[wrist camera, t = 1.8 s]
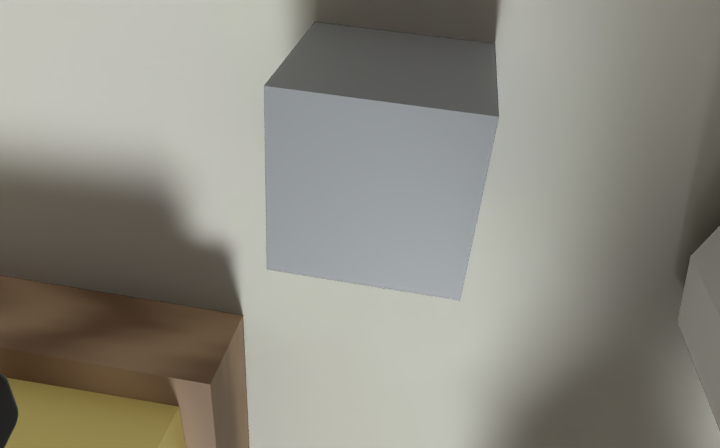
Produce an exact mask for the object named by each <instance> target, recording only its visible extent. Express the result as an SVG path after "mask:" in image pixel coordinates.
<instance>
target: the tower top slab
mask: <svg viewBox="0 0 720 448" xmlns="http://www.w3.org/2000/svg"><path fill="white" fill-rule="evenodd" d="M7 379H8V381H9V384H10V387H11V390H12V393H13V395H14V398H15V401H16V404H17V407H18V420H17V423H16V426H15V428H14V430H13V432H12V434H11V436H10V438H9V440H8V442H7V444H6V446H5V448H186V445H185V439H184V433H183V427H182V421H181V415H180V409H179V406H173V405H167V404H161V403H155V402H149V401H143V400H137V399H131V398H125V397H119V396H113V395H107V394H101V393H95V392H89V391H83V390H77V389H71V388H65V387H59V386H53V385H47V384H41V383H35V382H29V381H23V380H17V379H11V378H7Z"/></svg>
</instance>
